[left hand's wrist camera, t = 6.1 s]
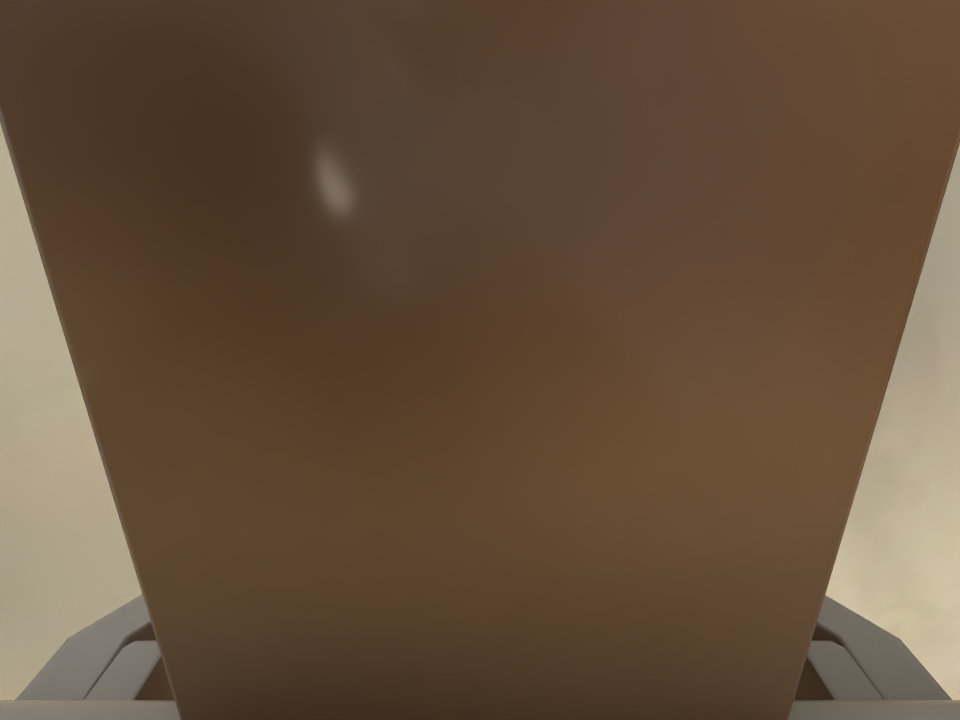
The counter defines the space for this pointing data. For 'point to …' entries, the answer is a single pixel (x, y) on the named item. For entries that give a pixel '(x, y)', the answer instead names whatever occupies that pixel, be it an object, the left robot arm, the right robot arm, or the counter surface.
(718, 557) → the box
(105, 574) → the counter surface
